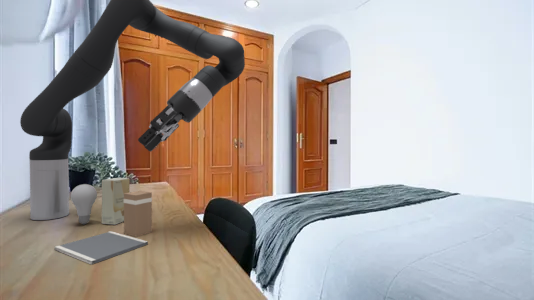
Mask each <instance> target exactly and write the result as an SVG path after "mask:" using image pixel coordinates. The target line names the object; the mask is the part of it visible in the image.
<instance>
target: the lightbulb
mask: <svg viewBox="0 0 534 300" xmlns="http://www.w3.org/2000/svg"><path fill="white" fill-rule="evenodd" d="M97 192H98V191H97V189H96V188H95V187H94V186H92V185H91V184H87V183H83V184H79V185H77V186H75V187H74V188H73V189H72V191H71V193H70V194H69V199H70V200H71V202H72V204H73V205H74V207H75V209H76V215H77V216H78V217H77V218H78V223H79V224H81V225H87V224H88V223H89V222H90V221H91V214H92V208H93V205H94V203H95V202H96V200H97V197H98V193H97Z"/></svg>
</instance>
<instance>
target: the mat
mask: <svg viewBox="0 0 534 300" xmlns="http://www.w3.org/2000/svg"><path fill="white" fill-rule="evenodd" d="M147 245H149V241H147V240H144V239H140V238H137V237H134V236H130V235H127V234H124V233H123V234H122V233H118V232H115V231H107V232H104V233H100V234H97V235H94V236H89V237H85V238H81V239H77V240H75V241H72V242H71V241H70V242H67V243H65V244H60V245H56V246H54V251H57V252H60V253H62V254H65V255H67V256H69V257H72V258H74V259H77V260H79V261H82V262H84V263H86V264H89V265H94V264H96V263H99V262H103V261H105V260H108V259H111V258H114V257H117V256H119V255H122V254H125V253H128V252H131V251H133V250H136V249H139V248H141V247H145V246H147Z"/></svg>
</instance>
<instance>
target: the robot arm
mask: <svg viewBox="0 0 534 300" xmlns="http://www.w3.org/2000/svg"><path fill="white" fill-rule="evenodd" d="M129 26H130V27H132V28H133V29H134V30H137V31H141V32H144V33H148V34H149V35H150V34H151V35H155V36H157V37H160V38H162V39H164V40H167V41H169V42H172V43H173V44H175V46H178V47H180V48H182V49H183V50H185V51H188V52H190V53H191V54H194V55H195V56H197V57H199V58H201V59H204V60H209V59H212V58H213V56H214V57H216V58H217V59H218V64H217V65H216V66H212V65H205V66H204V67H202V68H201V69H199V71H198V72H197V73H196V74H195V75H194V76H193V77H192V78H191V79H189V80H188V81H187V82H186V83H184V84H182V86H181V87H180V88H179V89H178V90H177V91H176V92H174V94H173V95H172V96H171V97H170V98H168V100H167V101H166V105H167V106H165V108H164V109H163V110H161V111H160V112H159V113H158V114H157V115H156V116H155V117H154V118H152V120H150V122H149V126H148V129H147V130H145V131H144V132H143V133H142V135H141V136H139V138H138V139H137V141H138V142H139V144H141V145H143V146H144V148H145V150H147V151H148V152H152V151H153V150H155V148H157V146H158V145H159V144H160V143H162V142H167V140H168V139H169V137H170V136H171V135H172V134H173V133H174V132H175V131H176V130H177V129H178V128H179V127H180V124H179V123H180V122H181V120H182V121H184V123H191V122H192V121H193V120H194V119H195V118H196V117H197V116H198V115H199V113H201V112H202V110H204V108H206V106H207V105H208V104H209V103H210V101H211V100H212V99H213V98H214V97H215V96H216V95H217V94H218V92H220V90H222V89H223V88H224V87H225V86H227V85H229V84H230V83H232V82H233V81H235V80H237V79H238V78H239V77H240V76H241V75H242V73H243V72H244V70H245V66H246V62H245V50H244V49H245V48H244V47H243V45H242V44H241V42H239V41H238V40H237V39H235V38H233V37H229V36H225V35H220V34H213V33H210V32H208V31H207V30H206V29H203V28H201V27H198V26H196V25H194V24H192V23H189V22H186V21H182V20H178V19H176V18H172V17H170V16H168V15H167V14H165V13H164V12H163V11H161V10H160V9H158V7H156V6H155V5H154V3H153V2H152V1H151V0H110V1H109V2H108V3H107V6H106V7H105V9H104V10H103V12H102V14H101V15H100V18H98V20H97V22H96V23H95V25H94V26H93V28H92V29H90V32H89V33H88V34H87V36H86V37H85V39H84V40H83V41H82V43H81V44H80V45H79V46H78V47H77V49H75V51H74V52H73V53H72V54H71V56H70V57H69V58H68V60H67V62H65V65H63V67H62V68H61V69H60V70H59V72H58V73H57V74H56V75H55V76H54V78H53V79H52V80H51V81H50V83H49V84H48V85H47V86H46V87H45V88H44V89H43V90H42V91H41V92H40V93H39V94H38V95H37V96H36V97H34V99H33V100H32V101H31V102H30V103H29V104H28V105H27V106H26V107H25V109H24V110H23V112H22V114H21V117H20V121H19V123H20V127H21V129H22V131H23V132H24V133H26V134H27V135H30V136H32V137H33V136H34V137H42V142H41V144H39V145H38V146H36V147H34V148H32V149H31V150H29V157H28V158H29V194H30V195H29V198H30V205H29V206H30V213H29V214H30V219H31V220H33V221H46V220H54V219H55V220H56V219H60V218H64V217H66V216H69V215H70V189H69V188H70V187H69V185H70V184H69V182H70V181H69V179H70V178H69V175H70V173H69V171H70V170H69V154H70V152H71V149H72V137H73V136H72V135H73V121H72V117H71V114H70V113H69V111H68V110H66V109H65V107H66V106H67V105H68V104H69V103H70V102H72V101H73V100H74V99H77V98H78V97H81V96H82V95H84V94H86V93H87V92H89V91H91V90H92V89H94V88H95V87H96V86H97V85H99V84H100V82H102V80H103V79H104V78H105V76H106V75H107V74H108V73H109V72H110V70H111V68H112V66H113V63H114V60H115V59H114V57H115V54H116V53H115V51H116V46H117V43H118V40H119V38H120V37H121V35H122V34H123V33H124V31H125V30H126V28H128V27H129Z"/></svg>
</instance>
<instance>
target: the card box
mask: <svg viewBox="0 0 534 300" xmlns="http://www.w3.org/2000/svg"><path fill="white" fill-rule="evenodd" d="M152 203H153V196H152V192H151V191H145V190H137V191H129V193H124V221H123V223H124V224H123V226H124V227H123V235H126V236H130V237H133V238H137V237H140V236H143V235H147V234H149V233H152V232H153V225H152V224H153V221H152V220H153V216H152V215H153V214H152V213H153V206H152V205H153V204H152Z"/></svg>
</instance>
